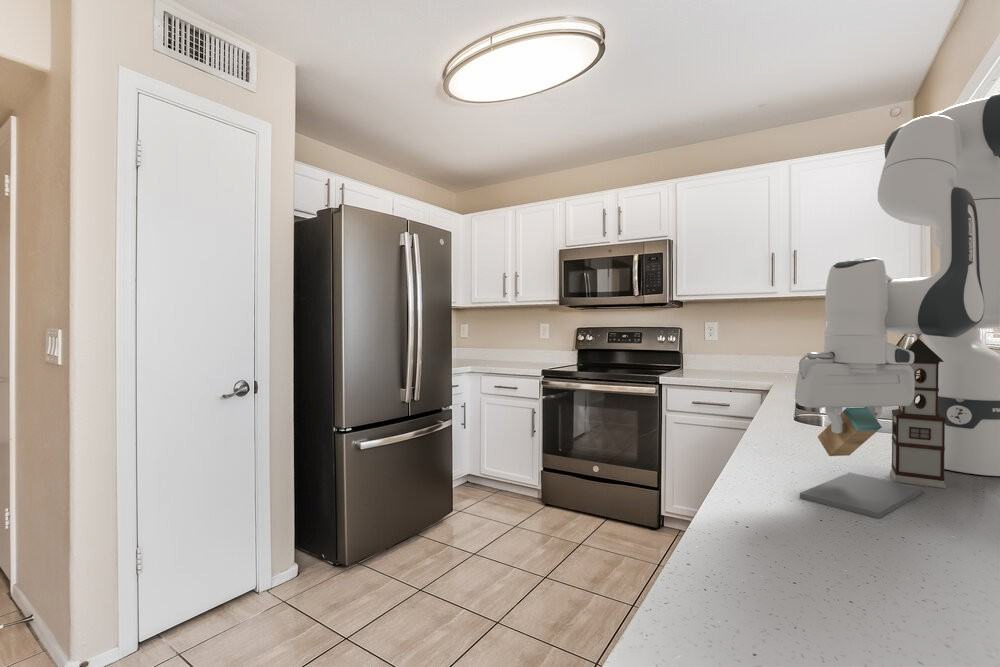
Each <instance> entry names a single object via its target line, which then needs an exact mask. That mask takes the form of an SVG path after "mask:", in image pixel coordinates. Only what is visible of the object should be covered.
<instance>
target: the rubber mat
mask: <svg viewBox="0 0 1000 667" xmlns="http://www.w3.org/2000/svg"><path fill="white" fill-rule="evenodd" d="M923 490H924V488H923V487H921V486H916V485H913V484H908V483H902V482H894V481H893V480H892V481H891V480H886V479H882V478H877V477H873V476H869V475H863V474H858V473H853V472H847V473H845V474H842V475H839V476H837V477H835V478H832V479H830V480H828V481H825V482H823V483H820V484H818V485H816V486H813V487H810V488H808V489H806V490H804V491H803V490H802V491H801V492H800V493H799V498H800V499H803V500H807V501H812V502H815V503H819V504H823V505H827V506H831V507H835V508H838V509H842V510H845V511H850V512H853V513H857V514H860V515H865V516H868V517H873V518H876V519H880V518H882V517H884V516H885V515H887V514H888V513H890V512H892V511H893V510H896V509H897V508H899V507H900V506H902V505H904V504H905V503H907V502H909V501H910V500H912V499H914V498H916V497H918V496H919V495H921V494H922V493H924V491H923Z"/></svg>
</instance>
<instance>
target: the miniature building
mask: <svg viewBox="0 0 1000 667" xmlns="http://www.w3.org/2000/svg"><path fill="white" fill-rule="evenodd" d="M914 335H915V336H917V338H916V339H915V340H914V341H913V342H912V343H911V344H909V345H908V346H907V347H906V348H905V349H907V350H910V351H912V352H913V353H914V362H913V363H912V364H908V365H909V366H911V367H912V369H913V371H914V381H915V390H914V399H913V401H912V403H911V404H910V405H909V406H898V408H896V409H891V416H892V417H891V418H892V422H891V423H892V425H891V427H892V428H891V431H892V433H891V470H890V471H889V474H890V476H891V479H892V481H893V482H897V483H902V484H908V485H919V486H926V487H933V488H940V489H947V487H946V486H947V485H945V469H944V451H945V447H944V446H945V422H946V419H945V418H944V417H943V416H941V415H940V414H939V413H938V391H939V388H938V365H939V362H944V361H943V360H942V359H941V358H940V357H939V356H937V355H936V354H935V353H934V352H933V351H932V350H931V349H930V348H929V347H928V346H927V345H926V344H925V342H924V341H923V340H921V339H920V338H921V337H922V336H921V334H914ZM918 371H919V372H918ZM917 377H918V378H917ZM918 397H919V401H917V403H916V399H917V398H918Z"/></svg>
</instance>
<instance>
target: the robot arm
mask: <svg viewBox="0 0 1000 667" xmlns="http://www.w3.org/2000/svg"><path fill="white" fill-rule="evenodd" d="M884 144H885V145H884V158H885V161H884V164H883V167H882V171H881V175H880V178H879V183H878V187H877V201H878V203H879V206H880V208H881V209H882V211H884V212H885V213H886V214H887V215H889V216H890V217H892V218H894V219H895V220H899V221H901V222H904V223H907V224H911V225H917V226H925V227H930V228H935V241H934V242H935V245H936V247H937V249H939V269H938V270H937V271H936V272H935V273H933V274H932V275H929V276H924V277H911V278H910V277H909V278H893V277H892V276H889V275H888V274H887V270H886V265H885V262H884V259H882V258H879V257H863V258H855V259H848V260H842V261H839V262H837V263H835V264H833V265H832V266H831V267H830V269H829V272H828V276H827V280H826V288H825V297H824V312H825V315H826V319H827V320H826V321H827V323H826V328H825V330H824V339H823V344H824V345H823V348H824V349H823V352H814V351H813V352H812V351H811V352H808V353H806V354H805V355H803V356H802V357H801V359H799V362H798V372H797V378H796V382H795V390H794V399H795V401H796V403H797V404H798V405H799V406H802V407H806V408H811V409H816V408H817V409H821V408H824V410H825V414H826V416H827V417H828V419H829V421H830V424H831V430H832V432H834V433H837V434H842V433H847V423H843V422H842V420H841V417H840V414H842V412H843V408H861V407H868V409H869V410H870V412H871V413H872V414H873V416H874V417H875V418H876V420H877V421H878V420H879V419H880V416H882V414H883V407H884V408H885V407H899V406H909V405H910V404H911V403H912V401H913V399H914V390H915V381H914V371H913V369H912V367H911V366H909V365H908V364H912V363H913V362H914V353H913V352H912V351H910V350H907V349H906V348H904V347H901V346H898V345H896V344H893V343H891V342H888V334H894V335H915V334H921V336H920V337H921V338H922V341H923V343H924V344H925V345H927V346H928V347H929V348H930V349H931V350H932V351H933V352H934V353H935V354H936V355H937V356H939V357H940V358H941V359H942V360H943V361H944V362H939V365H938V388H939V391H938V413H939V414H940V415H941V416H943V417H944V418H945V419H946V422H945V446H944V447H945V451H944V470H948V471H953V472H959V473H965V474H973V475H981V476H992V477H1000V354H999V353H998V352H996V351H995V350H993V349H990V348H989V347H987V346H986V345H985V343H984V342H983V341H982V339H981V337H980V335H979V332H978V329H983V330H984V329H985V330H986V329H989V330H990V329H991V330H992V329H997V330H998V329H1000V93H996V94H992V95H990V97H985V98H980V99H974V100H971V101H967V102H964V103H960V104H956V105H952V106H950V107H947V108H946V109H944V110H941V111H937V112H934V113H932V114H930V115H929V114H928V115H924V116H920V117H917V118H914V119H912V120H910V121H909V122H907V123H904V124H902V125H900V126H899V127H896V128H895V129H894V130H893V131H892V132H891V134H890V135H889V136H888V138H887V139H886V141H885V143H884Z"/></svg>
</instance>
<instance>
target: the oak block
mask: <svg viewBox="0 0 1000 667" xmlns="http://www.w3.org/2000/svg"><path fill="white" fill-rule="evenodd" d="M839 415H840V417H841V420H842V422H843V423H847V433H842V434H837V433H834V432H832V430H831V423H830V424H828V426H827V427H825V429H824V430H822V431H821V433H819V434H818V436H817V438H818V441H819V443H820V444H821V445H822V447H823V449H824V450H825V452H826V453H827V455H828V456H829V457H839V456H840V457H846V456H851V455H852V454H853V453H854V452H855V451H856V450H857V449H859V448H860V447H861V446H862V445H863V444H864V443H865V442H867V441H868V440H869V439H871V437H872V436H874V435H875V434H876V433H877V432H878V431H879V430H881V429H882V427H883V426H882V425H881V423H879V421H878V420H876V418H875V417H874V416H873V414H872V413H871V412H870V410H869V409H868V407H845V409H843V410H842V414H839Z"/></svg>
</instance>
